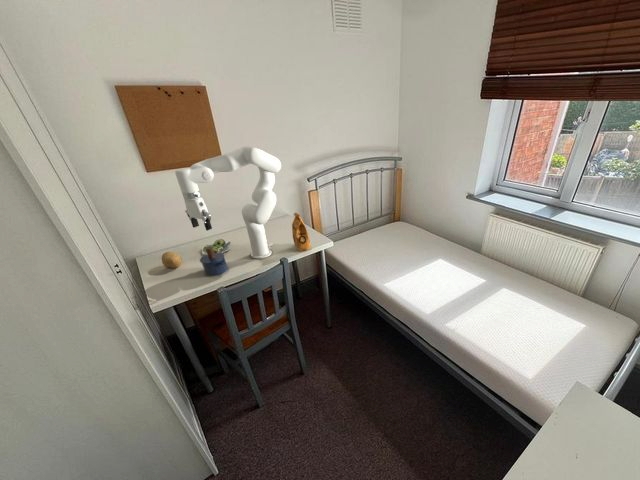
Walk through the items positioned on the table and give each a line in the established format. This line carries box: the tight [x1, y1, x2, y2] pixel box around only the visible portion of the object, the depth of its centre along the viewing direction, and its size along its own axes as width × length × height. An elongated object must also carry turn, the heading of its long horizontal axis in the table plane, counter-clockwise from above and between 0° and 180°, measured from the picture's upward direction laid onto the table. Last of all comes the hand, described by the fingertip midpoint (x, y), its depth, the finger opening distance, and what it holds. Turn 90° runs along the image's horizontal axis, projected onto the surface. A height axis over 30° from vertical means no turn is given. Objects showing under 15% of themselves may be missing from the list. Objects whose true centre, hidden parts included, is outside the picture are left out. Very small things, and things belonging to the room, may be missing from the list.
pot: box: [200, 256, 228, 277], centre depth 162 cm, size 11×17×8 cm
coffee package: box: [291, 212, 311, 252], centre depth 184 cm, size 10×12×22 cm
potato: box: [161, 251, 183, 269], centre depth 168 cm, size 10×14×8 cm
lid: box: [199, 247, 225, 264], centre depth 158 cm, size 12×12×7 cm
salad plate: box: [201, 238, 232, 256], centre depth 186 cm, size 19×18×5 cm
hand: (202, 228), depth 151 cm, fingers open, 9 cm apart
